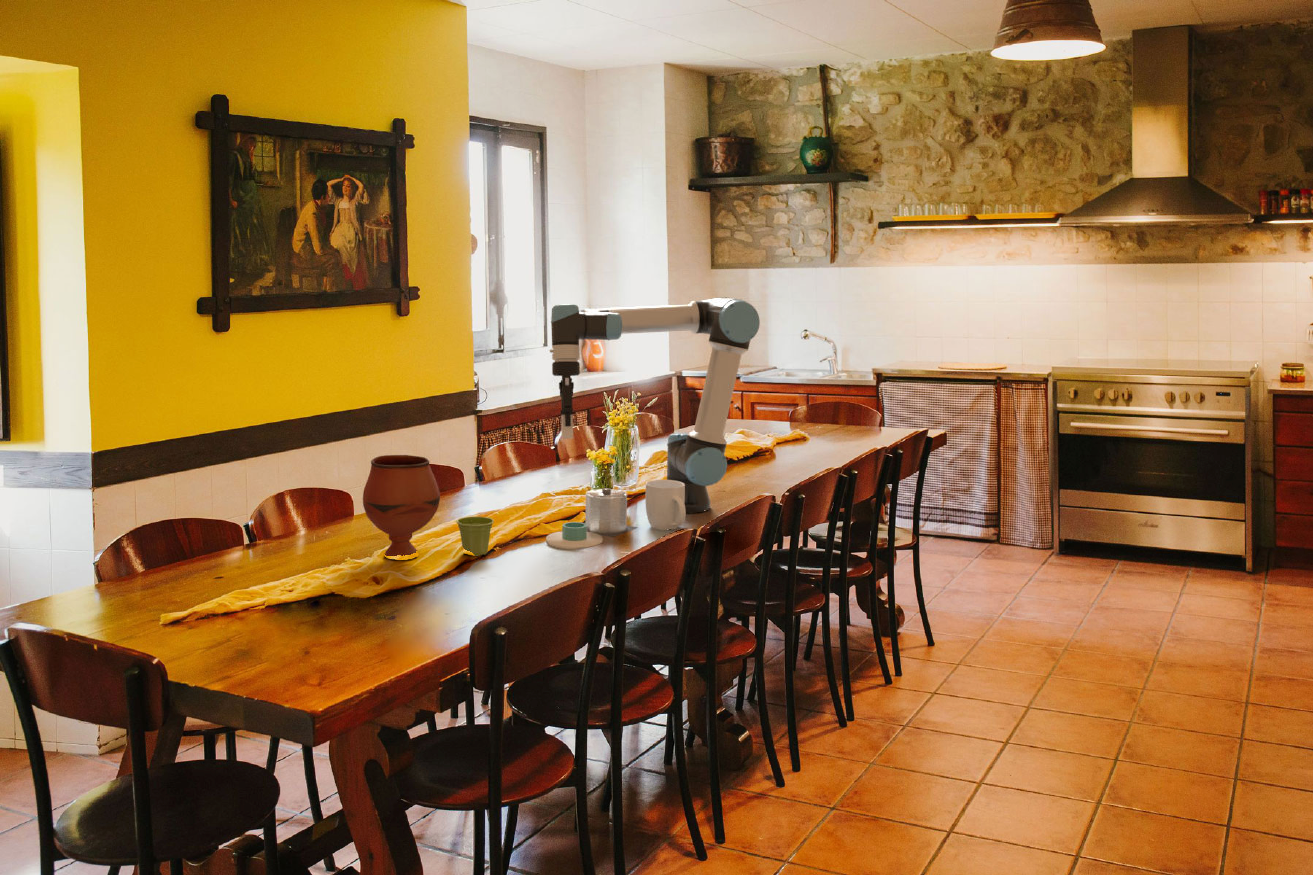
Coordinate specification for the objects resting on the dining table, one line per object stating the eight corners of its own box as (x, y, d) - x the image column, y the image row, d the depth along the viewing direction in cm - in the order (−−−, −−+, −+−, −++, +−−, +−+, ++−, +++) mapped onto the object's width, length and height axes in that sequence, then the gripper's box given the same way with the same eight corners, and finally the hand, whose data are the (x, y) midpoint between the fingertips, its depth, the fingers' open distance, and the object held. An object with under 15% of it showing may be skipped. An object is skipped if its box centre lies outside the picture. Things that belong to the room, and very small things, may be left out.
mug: (699, 534, 321) (700, 488, 318) (666, 539, 315) (667, 492, 312) (669, 522, 333) (670, 478, 331) (637, 526, 327) (638, 481, 325)
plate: (568, 531, 319) (568, 515, 319) (613, 540, 312) (613, 523, 311) (534, 543, 307) (535, 526, 306) (581, 552, 299) (581, 535, 298)
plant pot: (458, 548, 300) (458, 516, 299) (494, 548, 301) (494, 516, 300) (455, 558, 291) (454, 525, 290) (492, 558, 292) (492, 525, 291)
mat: (599, 522, 331) (599, 520, 331) (638, 529, 324) (638, 527, 324) (573, 531, 320) (573, 529, 320) (612, 539, 313) (612, 537, 313)
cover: (600, 521, 329) (601, 483, 327) (633, 527, 324) (634, 488, 322) (577, 529, 320) (578, 490, 318) (611, 535, 314) (612, 495, 312)
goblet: (414, 570, 280) (413, 470, 276) (347, 561, 286) (344, 462, 282) (454, 551, 298) (453, 456, 293) (390, 542, 304) (388, 449, 300)
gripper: (551, 364, 329) (552, 438, 329) (552, 358, 304) (554, 439, 304) (577, 363, 330) (579, 438, 330) (581, 358, 305) (583, 438, 305)
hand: (567, 438), depth 317 cm, fingers open, 13 cm apart
